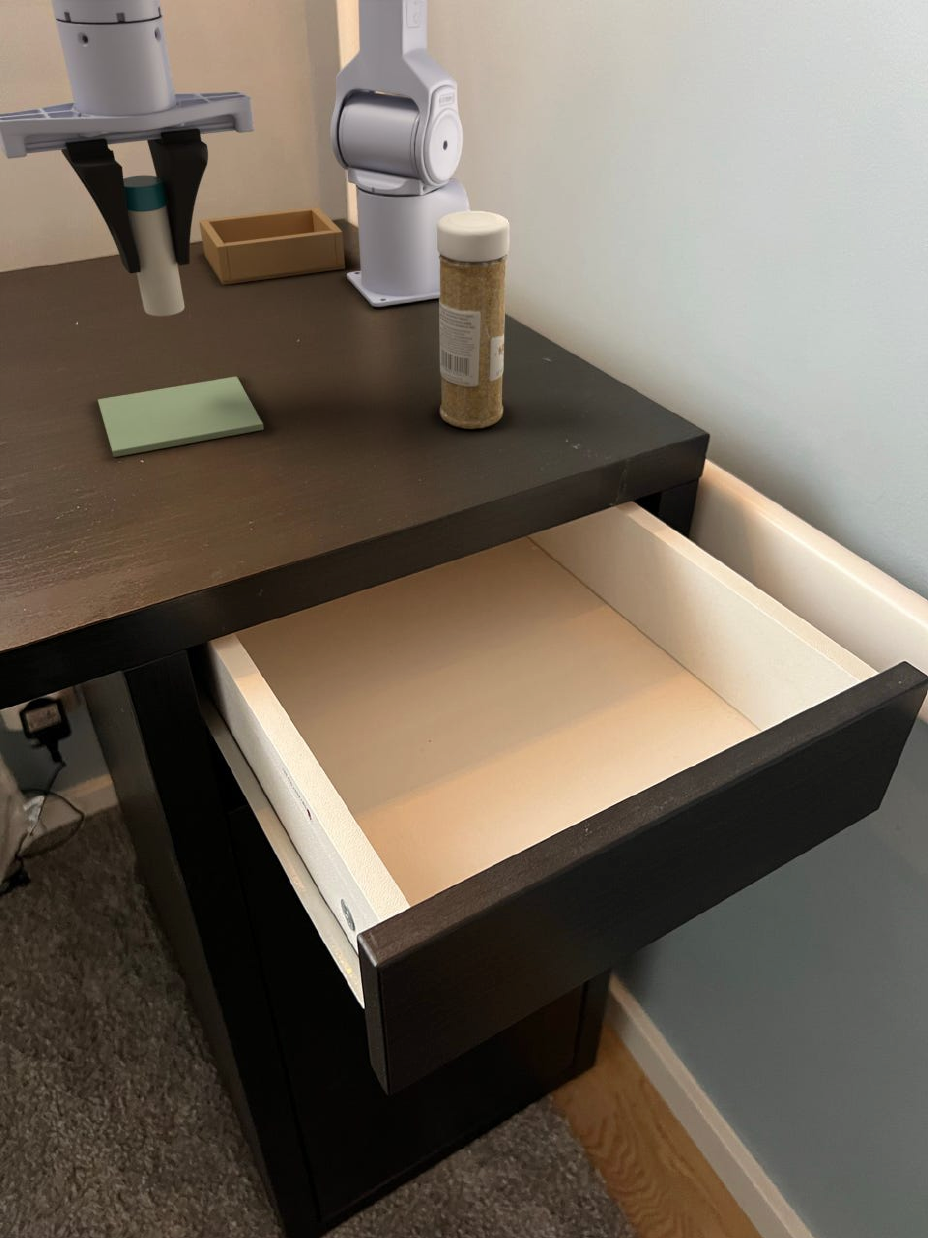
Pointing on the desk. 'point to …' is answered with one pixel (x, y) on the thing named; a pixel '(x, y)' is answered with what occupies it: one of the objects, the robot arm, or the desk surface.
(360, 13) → the robot arm
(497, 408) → the spice jar
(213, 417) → the mat
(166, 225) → the white bottle teal cap
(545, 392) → the desk surface
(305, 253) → the box
